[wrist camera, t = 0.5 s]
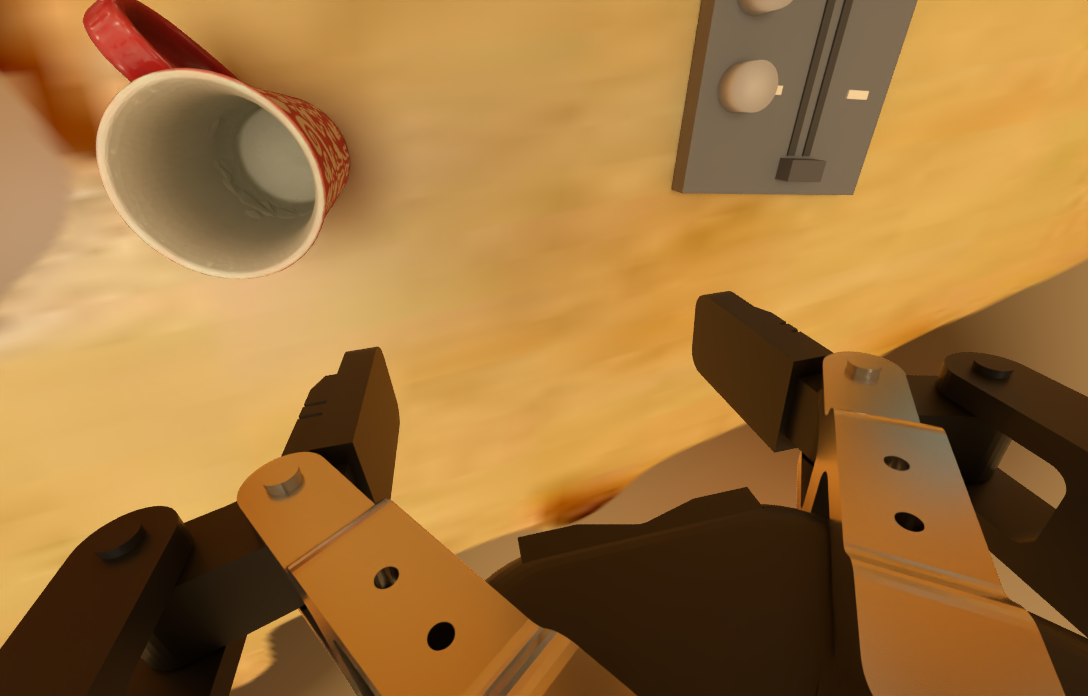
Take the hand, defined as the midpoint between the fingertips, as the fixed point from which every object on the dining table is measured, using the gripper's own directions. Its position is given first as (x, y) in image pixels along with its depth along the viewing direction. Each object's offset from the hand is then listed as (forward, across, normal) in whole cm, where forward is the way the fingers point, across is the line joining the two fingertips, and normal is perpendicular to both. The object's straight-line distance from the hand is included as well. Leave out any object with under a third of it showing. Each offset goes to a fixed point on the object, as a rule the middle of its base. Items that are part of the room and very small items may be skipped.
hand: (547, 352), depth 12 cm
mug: (+28, +13, -5) cm, 31 cm away
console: (+28, -26, -9) cm, 39 cm away
